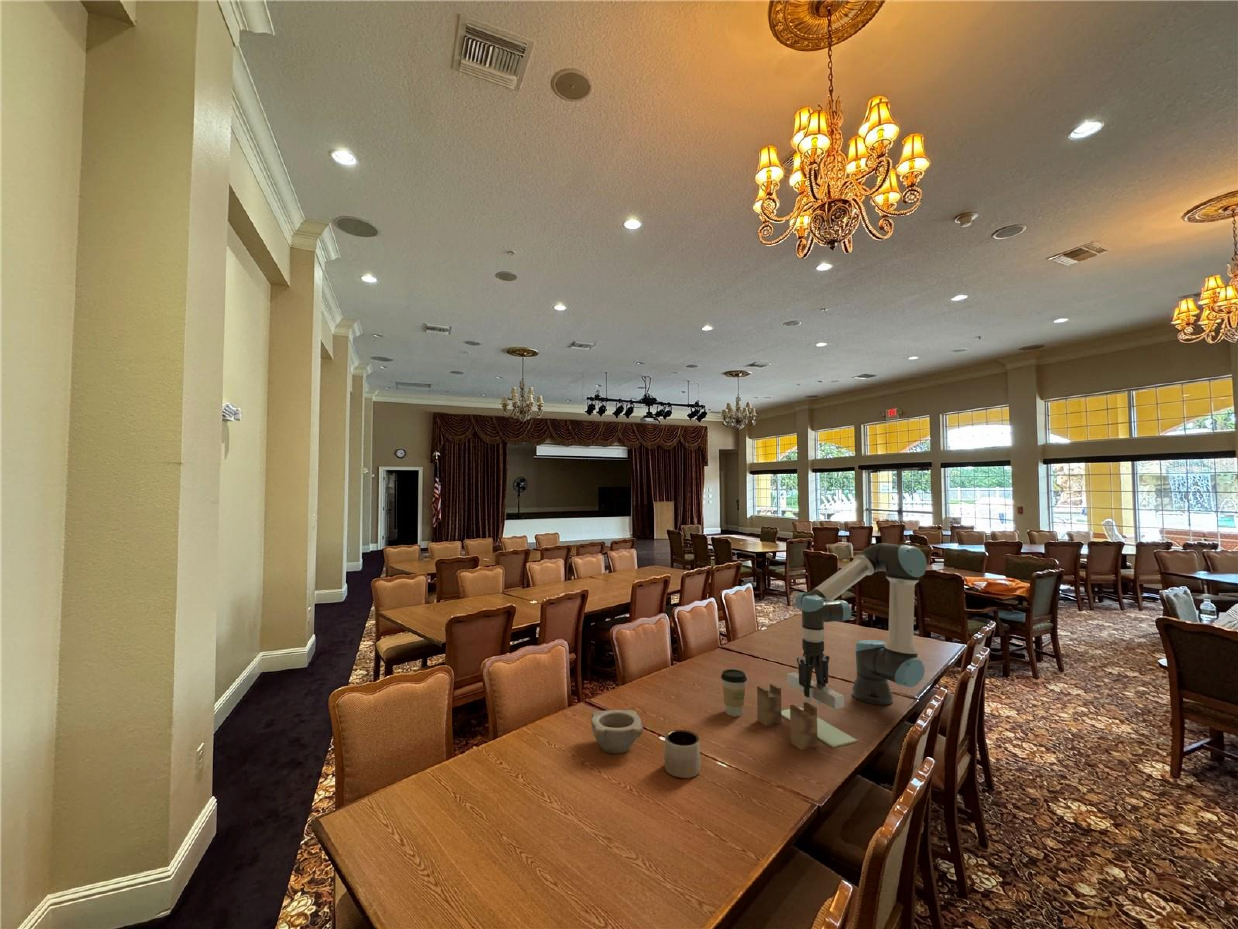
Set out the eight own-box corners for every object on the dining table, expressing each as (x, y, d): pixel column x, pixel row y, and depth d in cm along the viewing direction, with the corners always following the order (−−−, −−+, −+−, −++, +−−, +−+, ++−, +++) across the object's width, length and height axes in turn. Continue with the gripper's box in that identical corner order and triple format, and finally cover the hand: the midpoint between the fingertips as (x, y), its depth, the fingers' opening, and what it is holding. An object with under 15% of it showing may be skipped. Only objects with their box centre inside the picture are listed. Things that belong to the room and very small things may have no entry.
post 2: (806, 739, 168) (806, 702, 169) (817, 746, 164) (816, 708, 165) (790, 743, 166) (790, 705, 167) (801, 750, 161) (800, 711, 162)
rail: (787, 684, 189) (786, 673, 189) (795, 682, 191) (795, 672, 191) (834, 709, 167) (834, 697, 167) (843, 707, 168) (843, 695, 168)
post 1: (772, 717, 185) (772, 683, 186) (781, 723, 181) (781, 688, 181) (757, 720, 183) (757, 686, 184) (766, 726, 178) (765, 691, 179)
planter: (677, 783, 142) (677, 749, 143) (657, 765, 152) (657, 733, 152) (707, 774, 147) (707, 741, 148) (686, 757, 157) (686, 726, 157)
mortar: (637, 734, 172) (638, 707, 172) (644, 759, 155) (644, 729, 156) (590, 735, 170) (590, 708, 171) (591, 761, 153) (591, 731, 154)
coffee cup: (748, 719, 183) (747, 678, 184) (721, 717, 185) (721, 676, 186) (746, 708, 193) (746, 669, 194) (721, 706, 195) (720, 667, 196)
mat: (799, 708, 193) (799, 707, 193) (857, 742, 167) (857, 740, 167) (777, 713, 189) (776, 711, 189) (832, 747, 163) (832, 745, 163)
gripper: (823, 634, 187) (824, 697, 185) (787, 638, 180) (788, 704, 179) (838, 640, 180) (839, 705, 178) (801, 644, 173) (802, 712, 172)
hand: (813, 704), depth 178 cm, fingers closed on rail, 4 cm apart
